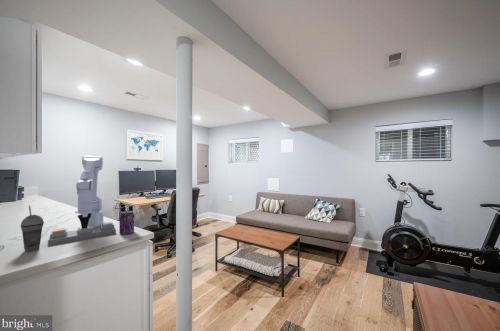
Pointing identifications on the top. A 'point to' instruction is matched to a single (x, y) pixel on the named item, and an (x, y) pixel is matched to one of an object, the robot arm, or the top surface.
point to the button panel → (80, 234)
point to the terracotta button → (58, 230)
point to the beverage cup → (31, 231)
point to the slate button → (106, 223)
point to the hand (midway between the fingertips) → (84, 227)
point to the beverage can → (126, 222)
